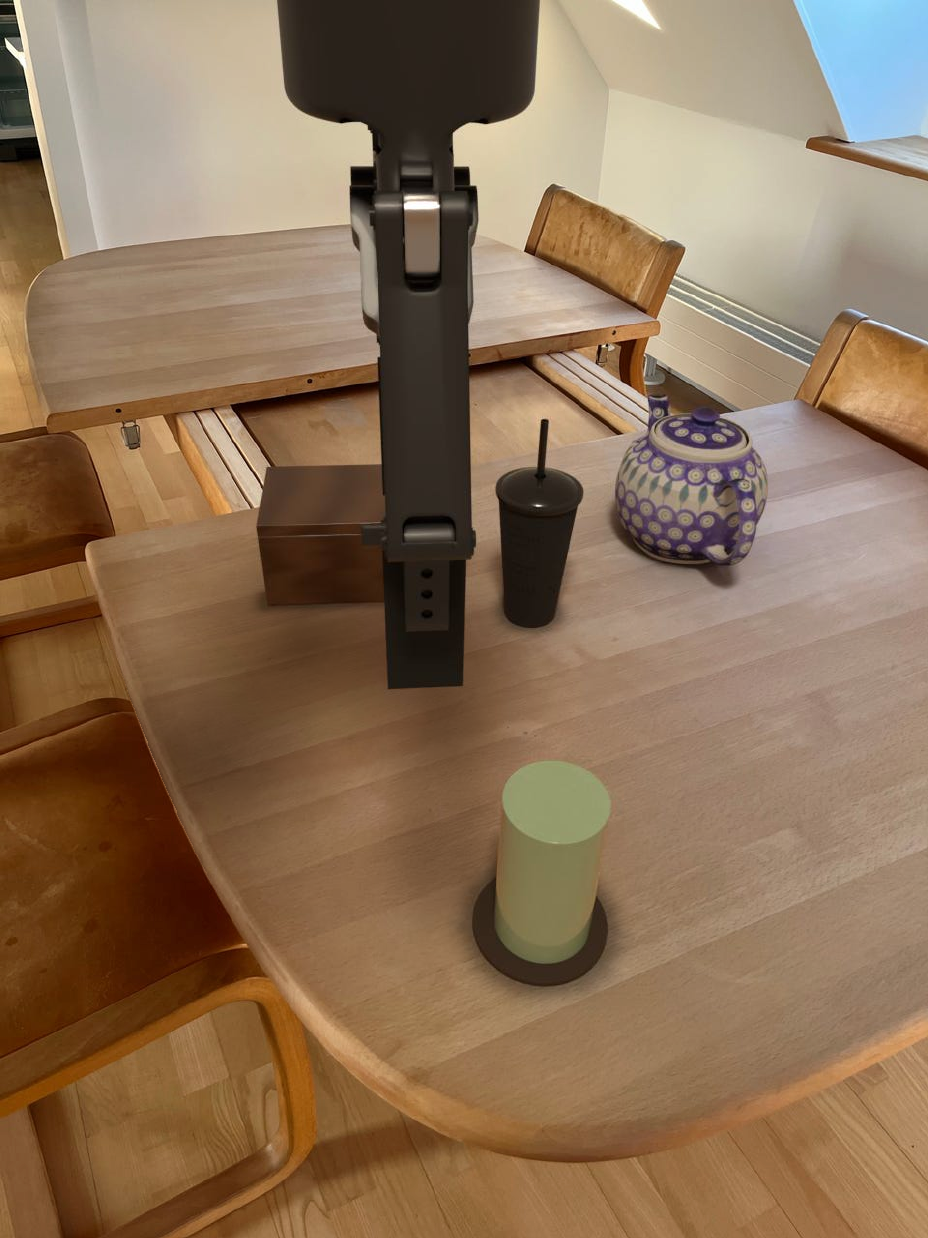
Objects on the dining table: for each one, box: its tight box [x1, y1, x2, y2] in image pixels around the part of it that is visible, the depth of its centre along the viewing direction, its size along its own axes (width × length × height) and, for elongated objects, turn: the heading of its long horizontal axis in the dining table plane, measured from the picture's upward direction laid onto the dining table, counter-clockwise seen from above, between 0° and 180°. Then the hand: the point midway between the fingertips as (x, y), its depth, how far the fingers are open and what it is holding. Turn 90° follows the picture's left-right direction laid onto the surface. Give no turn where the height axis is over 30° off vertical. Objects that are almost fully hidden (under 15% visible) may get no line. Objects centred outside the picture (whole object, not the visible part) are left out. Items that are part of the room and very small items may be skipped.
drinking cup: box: [494, 418, 585, 629], centre depth 83 cm, size 8×8×20 cm
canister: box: [494, 759, 612, 964], centre depth 59 cm, size 6×6×12 cm
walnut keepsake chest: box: [255, 463, 386, 606], centre depth 92 cm, size 14×11×9 cm
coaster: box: [471, 876, 609, 987], centre depth 62 cm, size 9×9×1 cm
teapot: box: [614, 394, 769, 567], centre depth 96 cm, size 25×15×15 cm, turn 9°
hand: (417, 573), depth 39 cm, fingers open, 13 cm apart
